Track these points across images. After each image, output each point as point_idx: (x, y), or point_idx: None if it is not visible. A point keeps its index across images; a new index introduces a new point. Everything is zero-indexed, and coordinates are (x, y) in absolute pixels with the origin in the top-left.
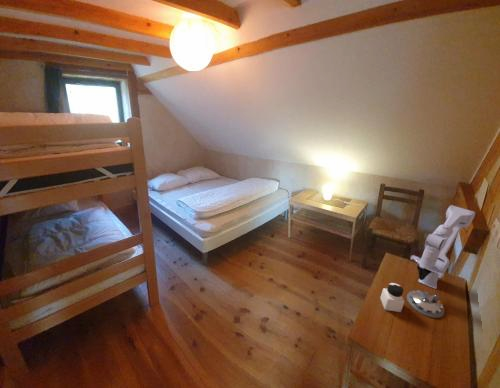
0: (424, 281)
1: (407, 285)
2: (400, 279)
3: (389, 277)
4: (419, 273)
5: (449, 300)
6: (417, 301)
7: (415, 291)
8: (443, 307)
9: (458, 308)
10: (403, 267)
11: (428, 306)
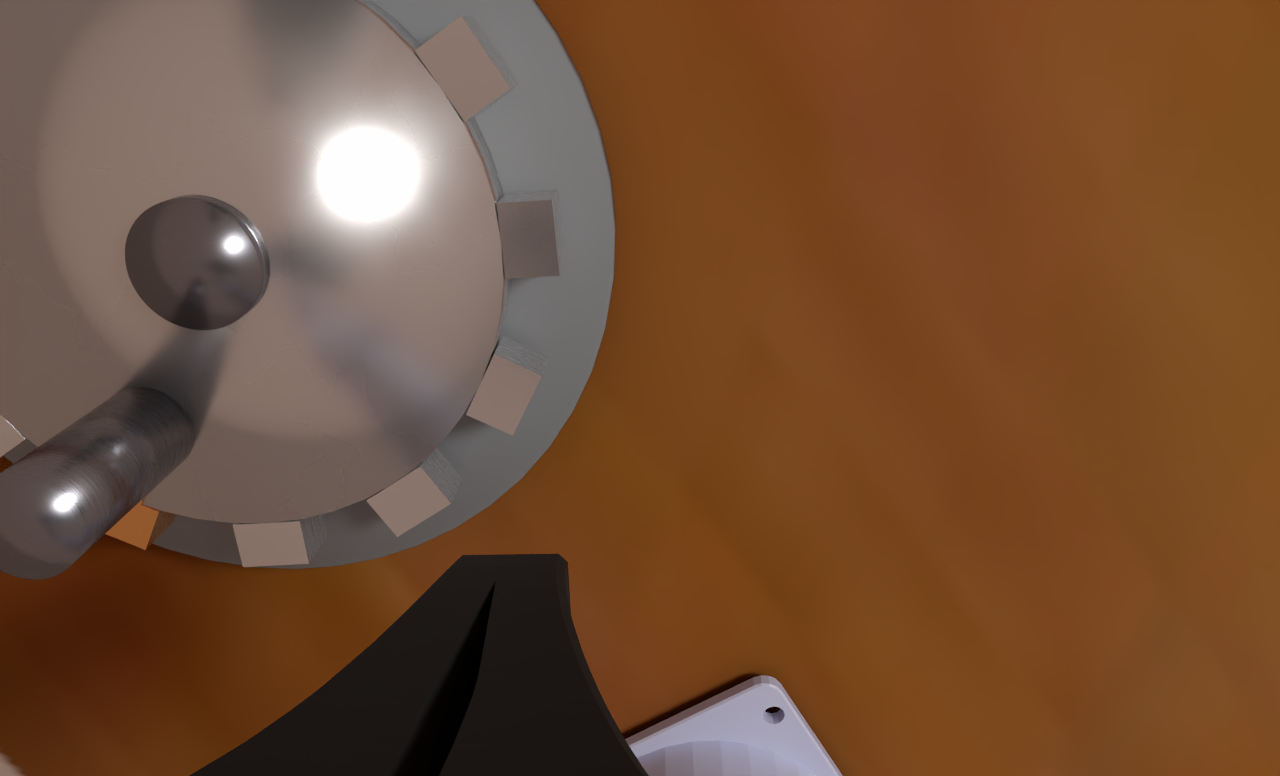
0: (700, 770)
1: (802, 385)
2: (1003, 402)
3: (1190, 202)
4: (548, 687)
5: None
6: (224, 5)
7: (571, 352)
8: None
9: (53, 728)
10: (1197, 769)
11: (24, 131)
